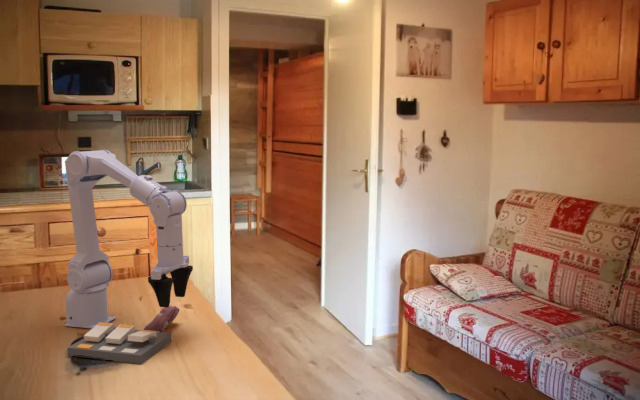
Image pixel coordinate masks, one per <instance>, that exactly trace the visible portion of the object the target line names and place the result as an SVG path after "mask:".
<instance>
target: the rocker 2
mask: <svg viewBox="0 0 640 400" xmlns="http://www.w3.org/2000/svg"><path fill="white" fill-rule="evenodd" d="M115 328H116V329H115V330H113V331H112V332H111V333H110V334H109V335H108V336H107V337H106V338H105V339H106V343H115V344H121V343H122V342H123V341H124V340H125V339H126V338H127V336H128V335H129V334H132V333H133V332H134V331H135V330H136V326H135V325H133V324H124V323H123V324H122V323H120V324H119V325H118V326H117V327H115Z"/></svg>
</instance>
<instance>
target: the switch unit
mask: <svg viewBox="0 0 640 400" xmlns="http://www.w3.org/2000/svg"><path fill="white" fill-rule="evenodd" d="M116 328H117V327H114V329H112V330H111V331H110V332H107V333H106V334H105V335H106V336H105V337H104V338H102V339H101V340H100V341H99V342H95V341H85V340H84V337H83V338H82V339H80V340H78V341H76V342H75V343H73V344H71V345H69V346H68V347H66V348H67V350H66V351H67V357H68V358H69V357H70V358H73V357H72V356H74V355H84V356H92V357H101V358H105V359H110V360H113V361H112V362H114V363H115V362H116V363H125V364H132V365H133V364H135V365H142V364H144V363H145V362H146V361H148V360H149V359H151V358H152V357H154V356H155V355H156V354H157V353H158V352H160V351H162V349H164V348H165V347H166V346H168V345H169V344H170V343H171V342H172V333H171V332H165V331H163V332H159V331H157V337H155V336H151V337H150V338H149V340H147V341H144V342H136V341H127V340H128V336H127V338H126V339H125V340H124V341H123V342H122V343H121V344H115V343H106V339H105V338H106V337H107V336H108V335H109V334H110V333H111V332H112V331H113V330H115V329H116ZM90 330H91V329H89V330H88V331H86V333H88V332H89V331H90ZM141 330H142V329H141ZM141 330H140V329H135V331H134V332H133V333H136V332H138V331H141ZM133 333H132V334H133ZM129 335H130V334H129Z"/></svg>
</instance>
